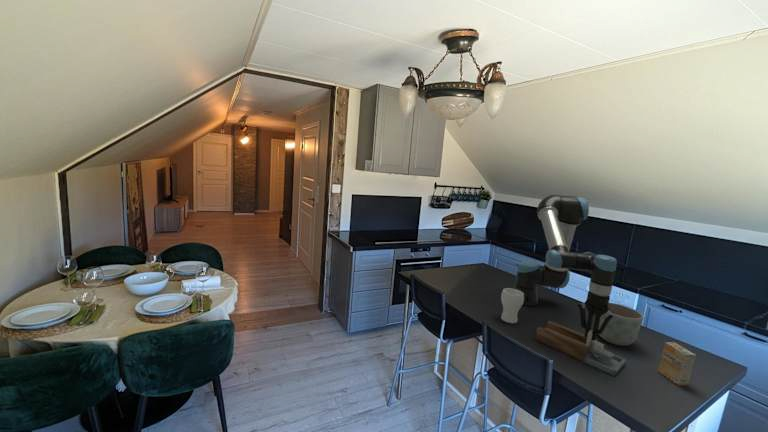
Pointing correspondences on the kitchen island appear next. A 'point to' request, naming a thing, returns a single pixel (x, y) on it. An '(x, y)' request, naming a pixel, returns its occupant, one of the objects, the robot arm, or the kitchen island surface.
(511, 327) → the kitchen island surface
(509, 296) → the cup
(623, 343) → the planter
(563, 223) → the robot arm
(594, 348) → the chip rear
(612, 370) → the tray
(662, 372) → the supplement box
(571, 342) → the slot board
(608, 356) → the chip front
